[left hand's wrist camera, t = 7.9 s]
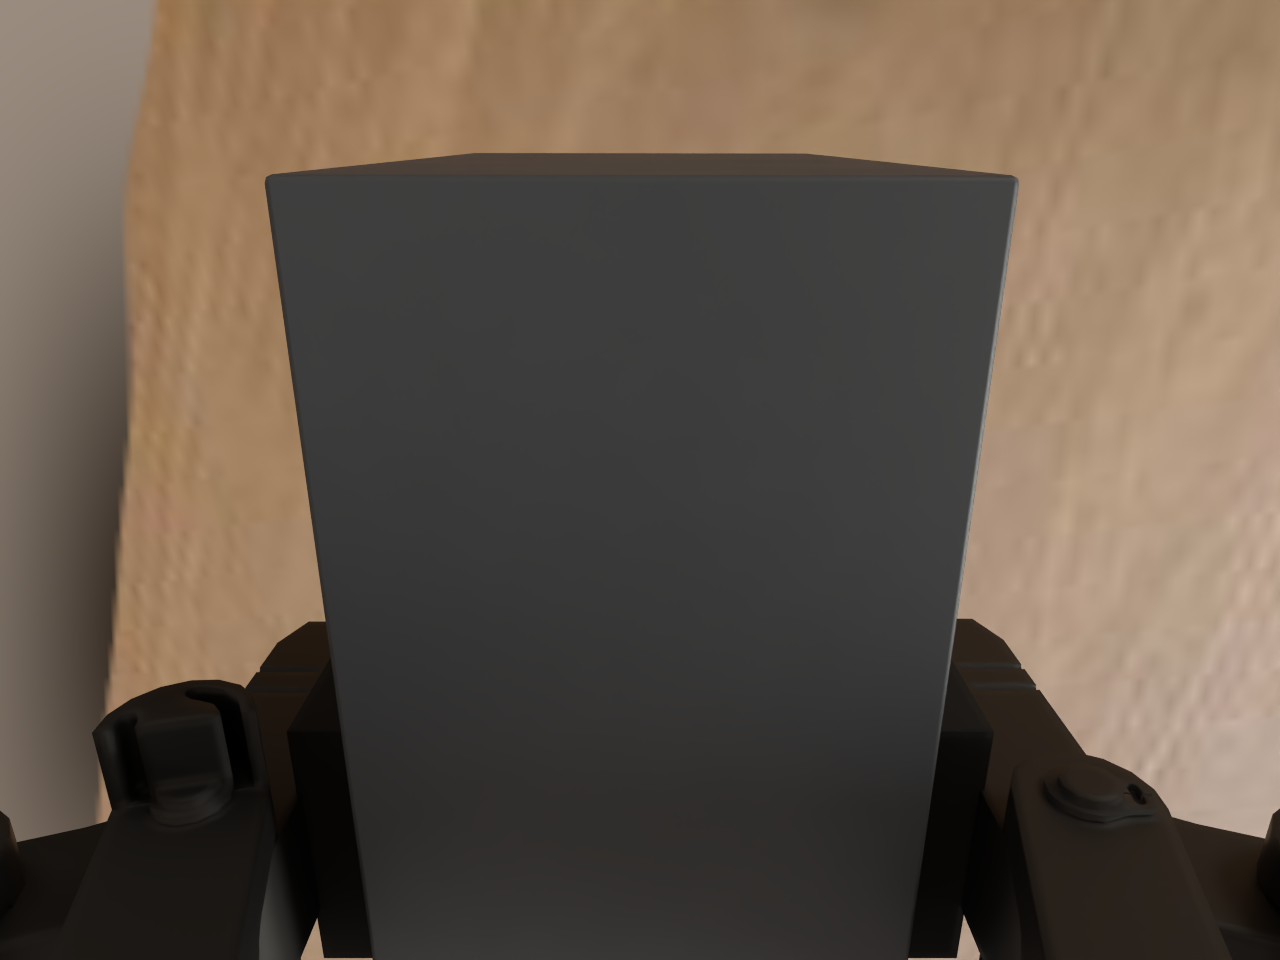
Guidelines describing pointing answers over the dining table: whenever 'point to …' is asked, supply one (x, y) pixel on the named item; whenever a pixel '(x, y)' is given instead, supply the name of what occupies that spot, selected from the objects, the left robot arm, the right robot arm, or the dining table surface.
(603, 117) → the dining table surface
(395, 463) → the beam
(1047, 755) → the left robot arm
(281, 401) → the dining table surface
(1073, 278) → the dining table surface
